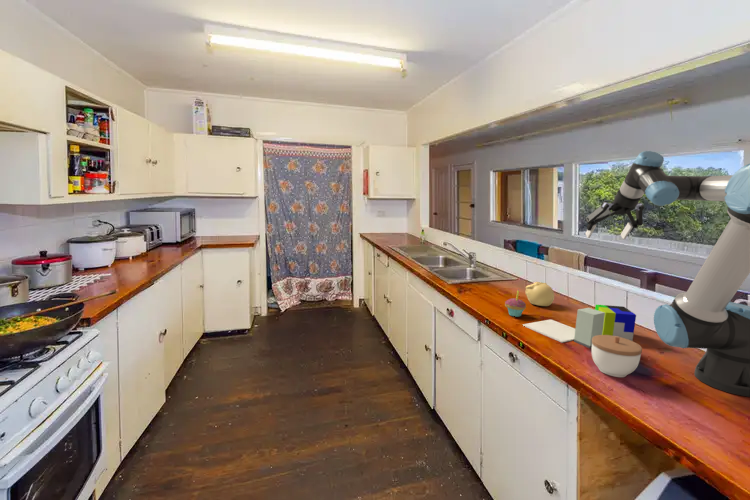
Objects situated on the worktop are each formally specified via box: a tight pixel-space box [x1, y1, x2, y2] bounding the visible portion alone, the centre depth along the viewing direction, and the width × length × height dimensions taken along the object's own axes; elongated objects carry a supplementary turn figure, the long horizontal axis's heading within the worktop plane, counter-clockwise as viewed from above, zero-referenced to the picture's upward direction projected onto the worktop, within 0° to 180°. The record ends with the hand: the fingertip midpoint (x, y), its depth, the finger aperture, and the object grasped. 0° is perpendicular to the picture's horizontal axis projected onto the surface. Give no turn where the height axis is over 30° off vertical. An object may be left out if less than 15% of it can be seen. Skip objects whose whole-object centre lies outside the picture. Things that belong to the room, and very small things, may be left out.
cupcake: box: [504, 289, 527, 318], centre depth 162 cm, size 9×8×12 cm
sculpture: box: [525, 281, 555, 307], centre depth 178 cm, size 12×12×11 cm
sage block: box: [573, 307, 605, 349], centre depth 133 cm, size 6×6×12 cm
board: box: [522, 318, 576, 343], centre depth 146 cm, size 18×16×1 cm
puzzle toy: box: [594, 304, 637, 342], centre depth 143 cm, size 10×10×10 cm
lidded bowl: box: [590, 335, 643, 378], centre depth 113 cm, size 13×13×11 cm
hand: (605, 236), depth 150 cm, fingers open, 13 cm apart
